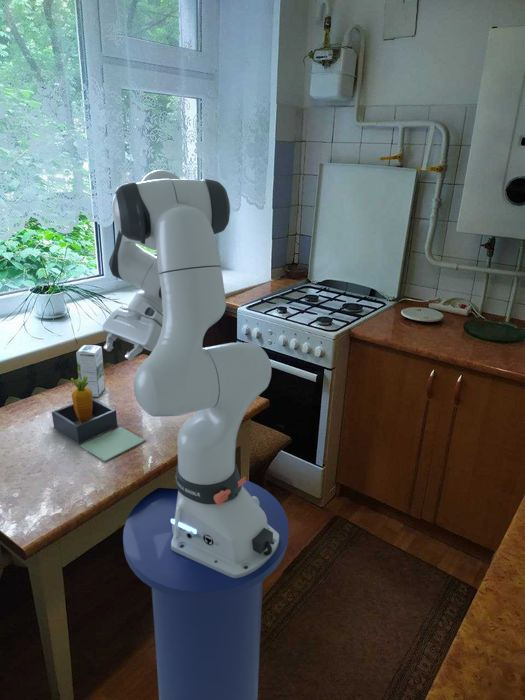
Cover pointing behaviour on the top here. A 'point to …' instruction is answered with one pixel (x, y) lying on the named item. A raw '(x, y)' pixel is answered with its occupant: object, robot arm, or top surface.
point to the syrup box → (91, 368)
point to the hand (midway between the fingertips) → (117, 354)
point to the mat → (112, 443)
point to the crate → (88, 429)
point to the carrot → (82, 400)
